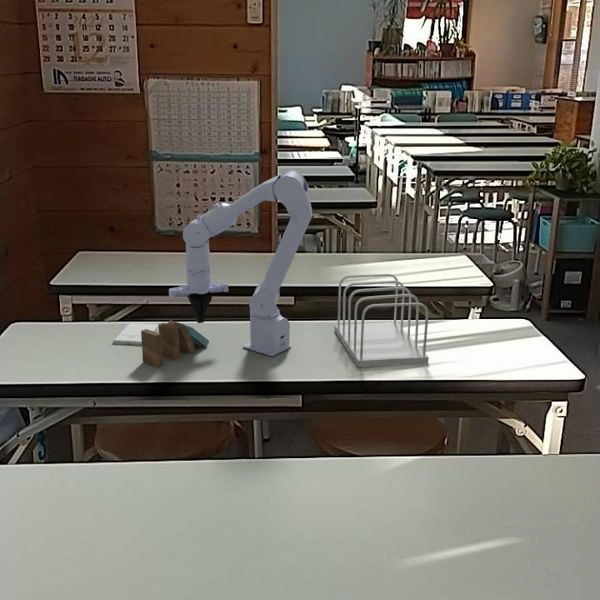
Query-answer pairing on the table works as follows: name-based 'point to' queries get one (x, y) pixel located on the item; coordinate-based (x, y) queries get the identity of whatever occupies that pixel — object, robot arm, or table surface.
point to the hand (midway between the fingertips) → (199, 321)
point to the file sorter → (381, 330)
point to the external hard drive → (134, 333)
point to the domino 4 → (197, 336)
